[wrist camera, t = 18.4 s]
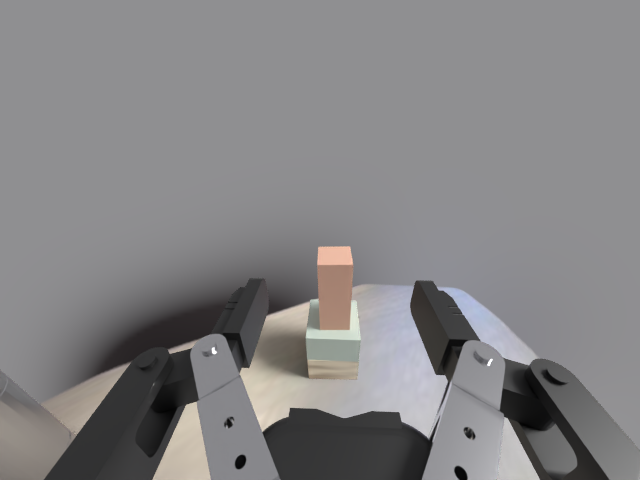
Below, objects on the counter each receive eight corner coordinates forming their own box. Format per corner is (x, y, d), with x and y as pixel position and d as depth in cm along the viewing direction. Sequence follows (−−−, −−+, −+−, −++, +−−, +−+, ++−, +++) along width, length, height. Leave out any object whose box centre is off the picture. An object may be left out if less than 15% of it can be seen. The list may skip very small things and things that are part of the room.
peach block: (349, 329, 34) (353, 264, 29) (319, 330, 35) (317, 265, 29) (347, 307, 38) (349, 246, 33) (320, 307, 38) (318, 246, 33)
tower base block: (357, 380, 38) (358, 361, 35) (308, 378, 38) (307, 360, 36) (352, 338, 45) (354, 320, 42) (312, 337, 45) (311, 320, 43)
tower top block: (358, 361, 35) (360, 340, 33) (307, 359, 36) (305, 338, 33) (354, 320, 42) (356, 300, 40) (311, 319, 43) (310, 299, 40)
